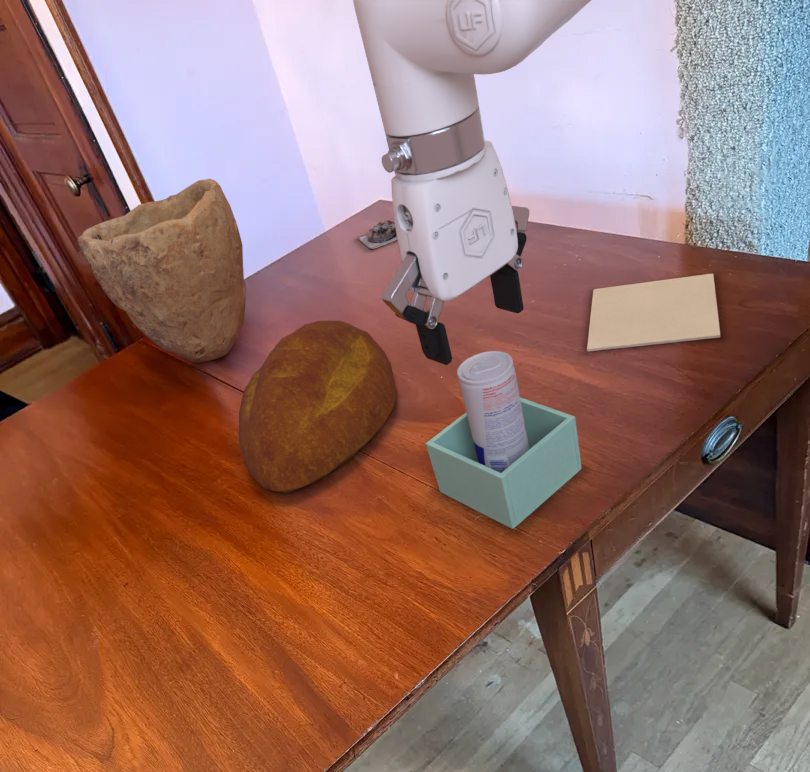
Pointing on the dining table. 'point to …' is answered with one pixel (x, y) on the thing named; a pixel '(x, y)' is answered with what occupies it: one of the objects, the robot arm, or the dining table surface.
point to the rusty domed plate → (380, 235)
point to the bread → (314, 404)
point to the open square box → (523, 480)
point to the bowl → (175, 270)
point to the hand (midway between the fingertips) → (475, 334)
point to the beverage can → (493, 408)
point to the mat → (654, 313)
